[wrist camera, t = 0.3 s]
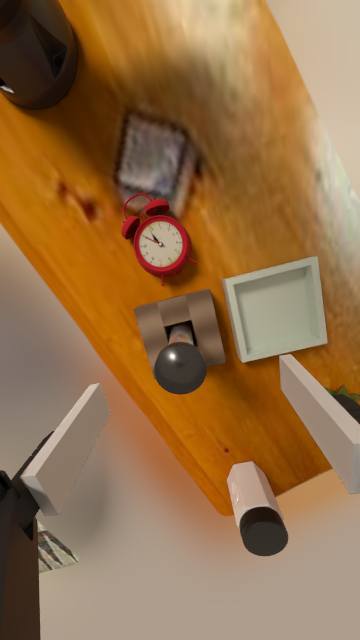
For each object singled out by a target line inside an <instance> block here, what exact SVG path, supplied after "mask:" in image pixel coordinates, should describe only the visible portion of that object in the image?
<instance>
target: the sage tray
mask: <svg viewBox="0 0 360 640" xmlns="http://www.w3.org/2000/svg"><path fill="white" fill-rule="evenodd" d="M222 285H223V290H224V294H225V299H226V304H227V309H228V313H229V318H230V323H231V328H232V332H233V337H234V342H235V346H236V351H237V356H238V357H239V359H240V360H241V361H242V363H244V362H248V361H252V360H257V359H261V358H265V357H270V356H274V355H278V354H283V353H287V352H291V351H296V350H300V349H304V348H309V347H313V346H317V345H322V344H326V343H328V342H327V333H326V324H325V316H324V307H323V299H322V290H321V282H320V273H319V264H318V256H314V257H308V258H303V259H300V260H296V261H292V262H288V263H284V264H280V265H276V266H272V267H269V268H265V269H261V270H257V271H253V272H249V273H245V274H241V275H237V276H234V277H230V278H226V279H222Z"/></svg>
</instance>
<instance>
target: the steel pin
mask: <svg viewBox="0 0 360 640" xmlns="http://www.w3.org/2000/svg"><path fill="white" fill-rule="evenodd" d="M154 374H155V377H156V380H157V382H158V383H159V385H160V386H161V387H162V388H163V389H165V390H166V391H168V392H170V393H174V394H187V393H190V392H193V391H194V390H196V389H197V388H199V387H200V386H201V384H202V383H203V381H204V379H205V376H206V364H205V360H204V357H203V355H202V353H201V352H200V350H199V349H198V348H197V347H195V346H194V345H193V339H192V333H191V328H190V326H189V325H188V324H187V323H186V322H180V323H176V324H174V325H173V327H172V330H171V334H170V339H169V343H168V345H167V346H165V347H164V348H163V349H162V350H161V351H160V353H159V354H158V356H157V359H156V362H155V366H154Z"/></svg>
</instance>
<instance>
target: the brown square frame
mask: <svg viewBox="0 0 360 640" xmlns="http://www.w3.org/2000/svg"><path fill="white" fill-rule="evenodd" d="M134 313H135V316H136V319H137V322H138V326H139V329H140V332H141V336H142V339H143V342H144V345H145V349H146V352H147V355H148V359H149V362H150V365H151V368H152V372H153V375H154V378H155V379H156V377H155V374H154V366H155V362H156V359H157V356H158V354H159V353H160V351H161V350H162V349H163V348H164V347H165V346H167V345H168V343H169V339H170V336H169V333H168V329H167V326H168V325H172V324H176V323H180V322H184V321H188V320H192V324H193V328H194V332H195V336H196V340H195V341H193V345H194V346H195V347H197V348H198V349H199V350H200V352H201V353H202V355H203V357H204V360H205V364H206V367H210V366H214V365H218V364H223V363H226V359H225V354H224V350H223V345H222V341H221V336H220V332H219V327H218V323H217V318H216V314H215V309H214V305H213V301H212V296H211V292H210V289H204V290H200V291H196V292H192V293H188V294H184V295H181V296H177V297H173V298H169V299H165V300H161V301H157V302H153V303H149V304H145V305H141V306H138V307H136V308H135V309H134Z"/></svg>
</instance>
